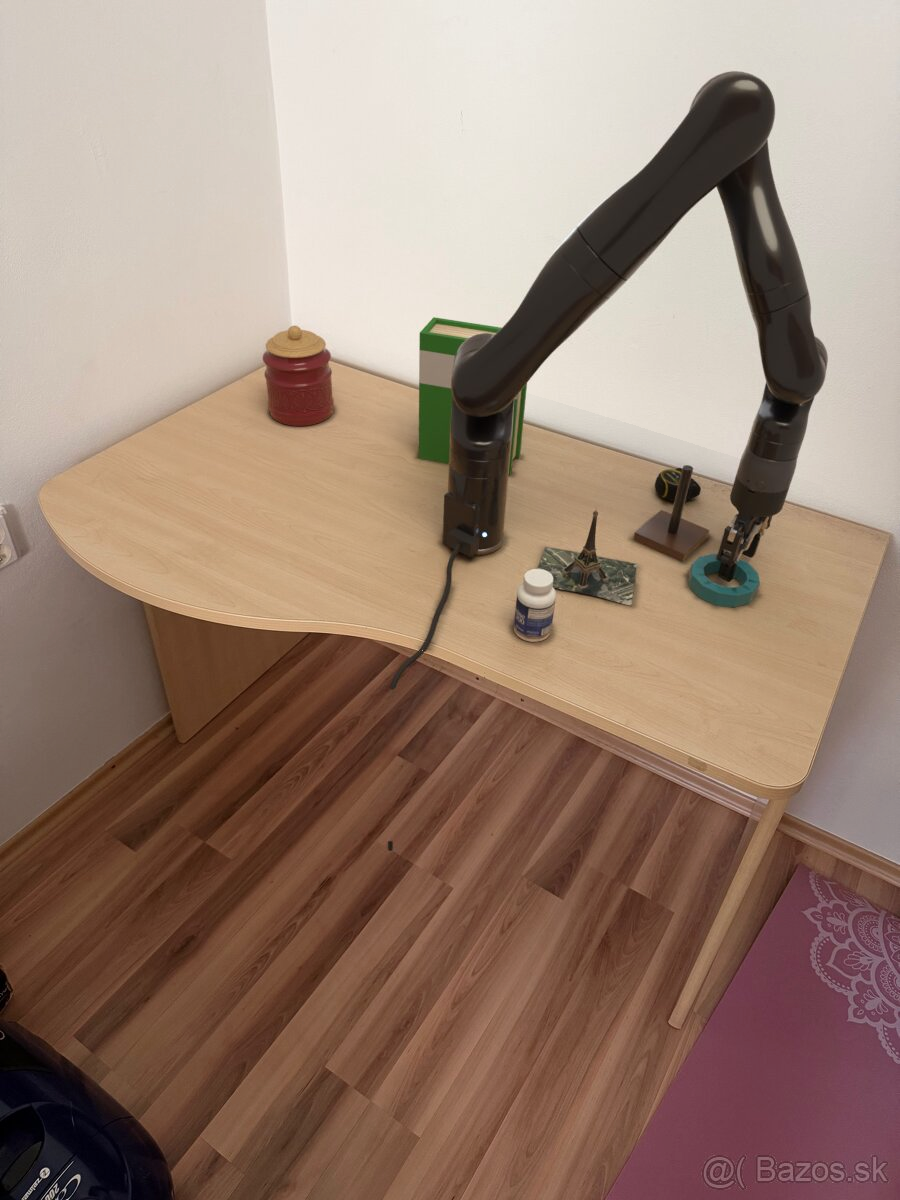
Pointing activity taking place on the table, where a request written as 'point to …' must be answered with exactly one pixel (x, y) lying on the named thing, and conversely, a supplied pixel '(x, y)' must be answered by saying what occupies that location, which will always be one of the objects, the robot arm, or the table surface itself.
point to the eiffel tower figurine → (590, 571)
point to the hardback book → (449, 387)
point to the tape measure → (674, 485)
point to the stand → (673, 526)
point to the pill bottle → (535, 606)
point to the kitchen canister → (298, 378)
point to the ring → (720, 593)
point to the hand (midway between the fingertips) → (735, 566)
